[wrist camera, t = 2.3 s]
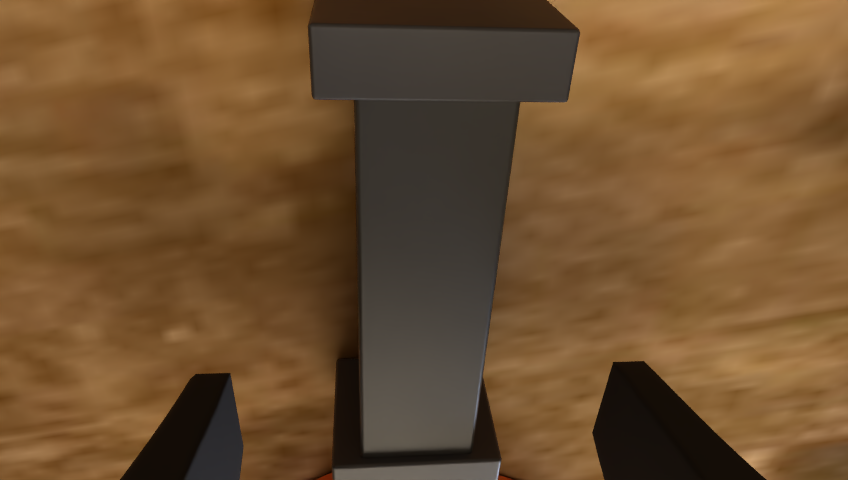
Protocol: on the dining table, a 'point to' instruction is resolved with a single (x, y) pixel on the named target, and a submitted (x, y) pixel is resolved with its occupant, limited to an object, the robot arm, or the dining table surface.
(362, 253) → the racket
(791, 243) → the dining table surface
